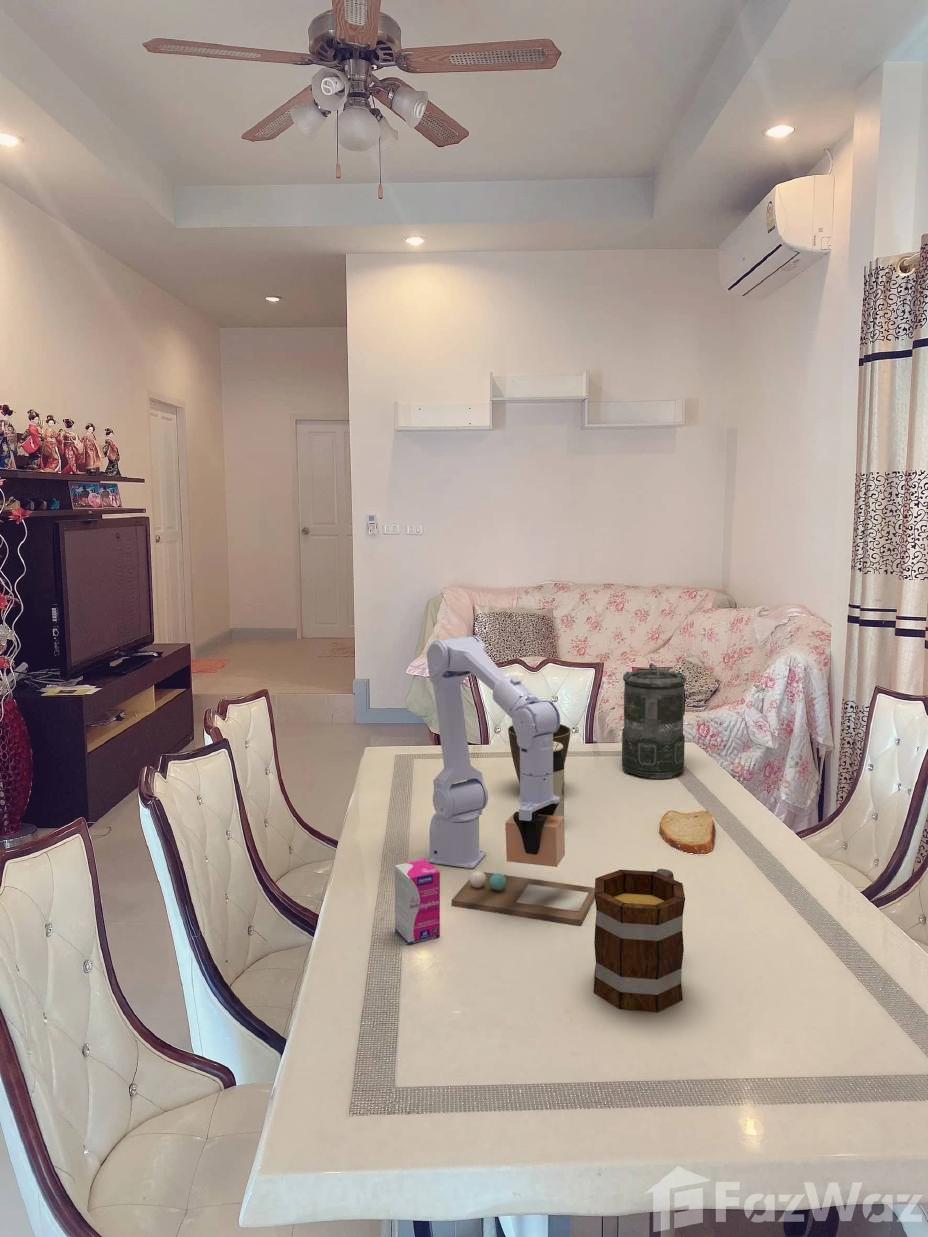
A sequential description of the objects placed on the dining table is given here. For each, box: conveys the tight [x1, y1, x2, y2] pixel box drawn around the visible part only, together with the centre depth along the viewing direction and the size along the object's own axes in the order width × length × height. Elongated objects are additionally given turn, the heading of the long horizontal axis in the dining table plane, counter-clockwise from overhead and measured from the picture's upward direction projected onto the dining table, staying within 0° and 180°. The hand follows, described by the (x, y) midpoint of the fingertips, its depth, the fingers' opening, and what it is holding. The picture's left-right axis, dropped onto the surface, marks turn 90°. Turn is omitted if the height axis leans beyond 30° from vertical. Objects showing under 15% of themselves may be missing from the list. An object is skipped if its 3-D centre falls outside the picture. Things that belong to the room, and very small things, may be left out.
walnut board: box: [451, 871, 595, 927], centre depth 157 cm, size 23×13×1 cm, turn 70°
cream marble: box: [469, 870, 486, 888], centre depth 160 cm, size 3×3×3 cm
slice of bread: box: [658, 810, 716, 855], centre depth 187 cm, size 18×18×4 cm
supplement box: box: [394, 859, 441, 945], centre depth 144 cm, size 6×6×12 cm
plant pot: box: [507, 723, 571, 784], centre depth 213 cm, size 15×15×16 cm
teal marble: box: [490, 872, 506, 891], centre depth 159 cm, size 3×3×3 cm
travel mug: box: [553, 741, 565, 817], centre depth 192 cm, size 8×8×18 cm
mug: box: [593, 868, 686, 1014], centre depth 130 cm, size 20×14×15 cm
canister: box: [621, 662, 687, 780], centre depth 229 cm, size 16×16×28 cm
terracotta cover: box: [504, 813, 566, 868], centre depth 155 cm, size 9×6×7 cm, turn 69°
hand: (536, 846), depth 155 cm, fingers closed on terracotta cover, 6 cm apart
